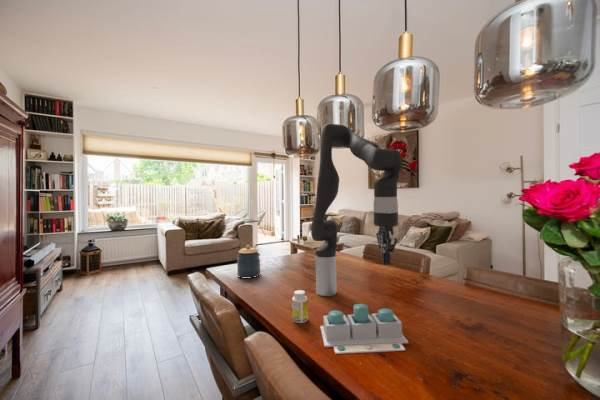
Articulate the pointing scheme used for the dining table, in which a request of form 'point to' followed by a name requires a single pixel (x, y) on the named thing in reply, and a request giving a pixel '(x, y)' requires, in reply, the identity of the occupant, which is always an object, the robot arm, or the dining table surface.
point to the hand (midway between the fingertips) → (386, 264)
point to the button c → (385, 315)
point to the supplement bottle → (300, 307)
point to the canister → (248, 262)
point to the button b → (361, 313)
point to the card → (368, 348)
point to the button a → (335, 317)
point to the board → (362, 332)
